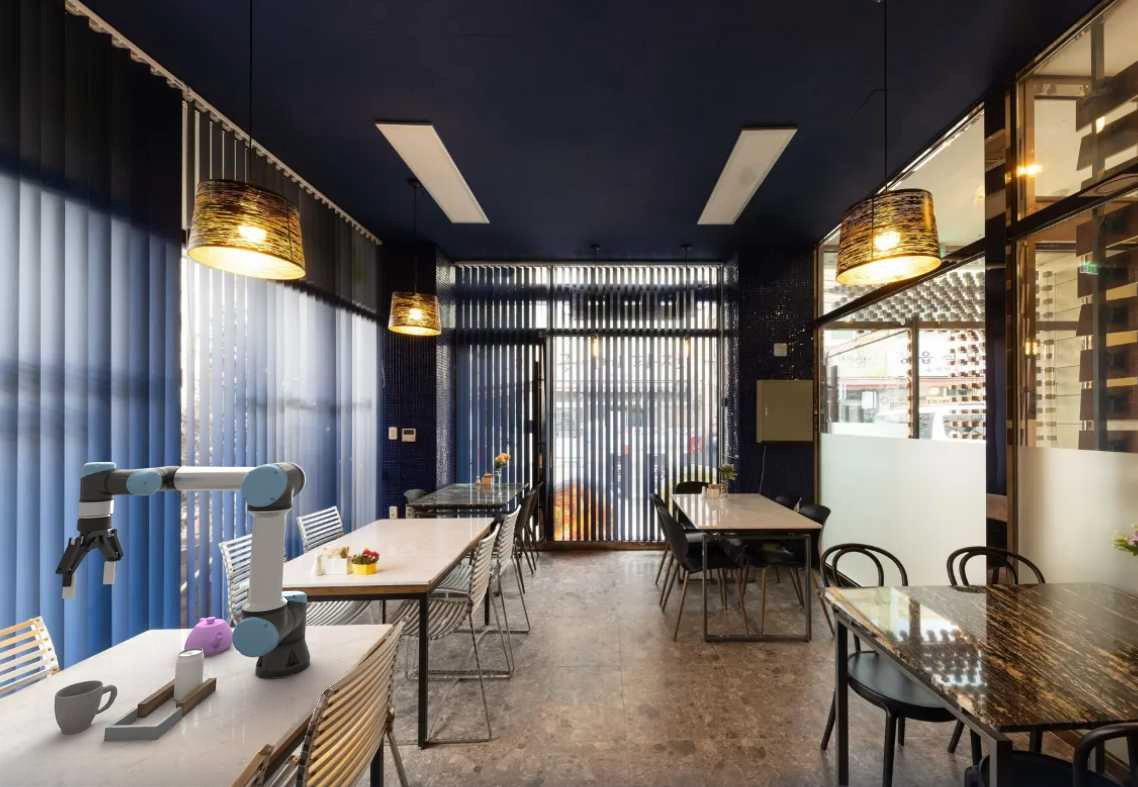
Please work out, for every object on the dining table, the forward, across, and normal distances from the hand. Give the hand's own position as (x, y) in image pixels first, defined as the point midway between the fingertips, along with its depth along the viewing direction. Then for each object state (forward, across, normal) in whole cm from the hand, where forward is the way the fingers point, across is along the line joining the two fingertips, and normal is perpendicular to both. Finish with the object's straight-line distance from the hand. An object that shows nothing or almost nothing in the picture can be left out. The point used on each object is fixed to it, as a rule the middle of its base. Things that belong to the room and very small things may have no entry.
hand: (89, 590), depth 150 cm
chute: (+28, +8, +31) cm, 43 cm away
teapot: (+28, -28, +18) cm, 44 cm away
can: (+28, +4, +31) cm, 42 cm away
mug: (+28, +18, +15) cm, 37 cm away
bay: (+28, +20, +31) cm, 47 cm away
